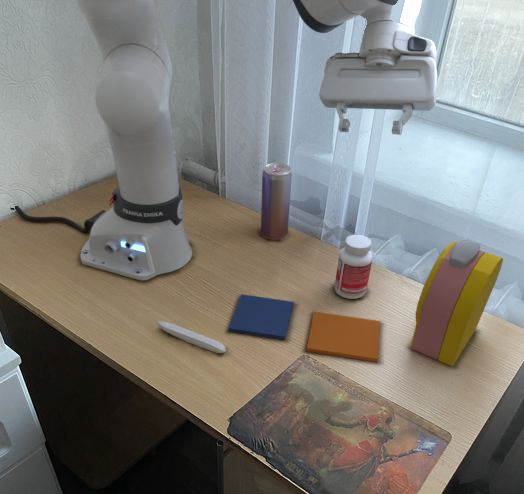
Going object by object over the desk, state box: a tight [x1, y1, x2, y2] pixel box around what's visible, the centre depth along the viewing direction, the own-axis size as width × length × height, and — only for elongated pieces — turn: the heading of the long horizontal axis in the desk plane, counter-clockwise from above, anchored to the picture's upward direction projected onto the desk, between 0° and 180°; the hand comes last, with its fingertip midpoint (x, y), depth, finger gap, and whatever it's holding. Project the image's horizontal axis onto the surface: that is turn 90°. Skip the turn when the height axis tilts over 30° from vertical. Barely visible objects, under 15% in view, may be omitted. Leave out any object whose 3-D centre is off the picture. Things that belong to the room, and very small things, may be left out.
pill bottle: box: [334, 234, 374, 300], centre depth 100 cm, size 6×6×11 cm
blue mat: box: [228, 294, 295, 341], centre depth 97 cm, size 10×10×1 cm
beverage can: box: [260, 162, 293, 241], centre depth 113 cm, size 6×6×15 cm
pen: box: [155, 321, 227, 354], centre depth 91 cm, size 2×14×2 cm, turn 63°
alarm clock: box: [410, 239, 504, 367], centre depth 88 cm, size 15×8×18 cm, turn 145°
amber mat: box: [305, 311, 381, 363], centre depth 93 cm, size 12×10×1 cm
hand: (369, 132), depth 94 cm, fingers open, 8 cm apart
